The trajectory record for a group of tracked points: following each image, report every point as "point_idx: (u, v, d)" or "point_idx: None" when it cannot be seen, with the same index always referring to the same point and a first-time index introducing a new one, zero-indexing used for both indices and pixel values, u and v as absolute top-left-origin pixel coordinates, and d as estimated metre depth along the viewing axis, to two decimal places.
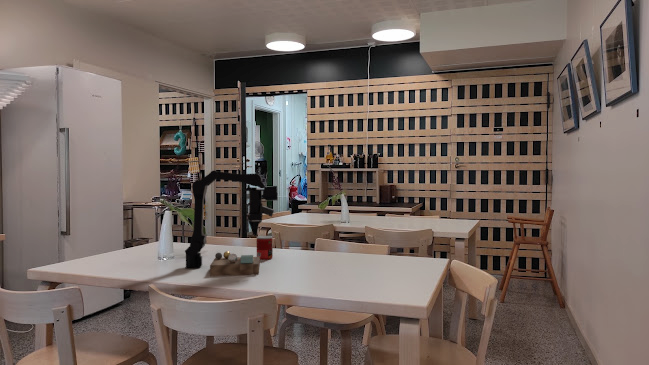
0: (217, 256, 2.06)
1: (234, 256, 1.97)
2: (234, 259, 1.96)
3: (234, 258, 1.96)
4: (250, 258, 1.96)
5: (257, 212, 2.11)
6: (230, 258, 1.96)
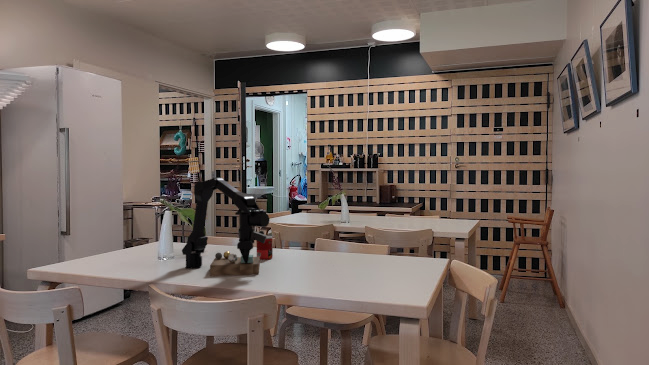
0: (217, 256, 2.06)
1: (234, 256, 1.97)
2: (234, 259, 1.96)
3: (234, 258, 1.96)
4: (250, 258, 1.97)
5: (248, 239, 1.92)
6: (230, 258, 1.96)
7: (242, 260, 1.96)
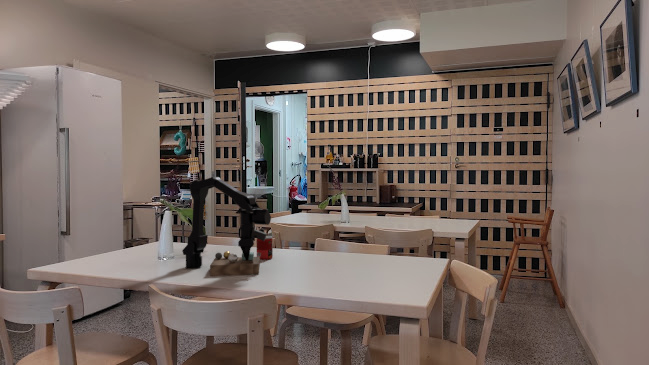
0: (217, 256, 2.06)
1: (234, 256, 1.97)
2: (234, 259, 1.96)
3: (234, 258, 1.96)
4: (251, 255, 2.03)
5: (249, 236, 1.99)
6: (230, 258, 1.96)
7: (243, 257, 2.03)
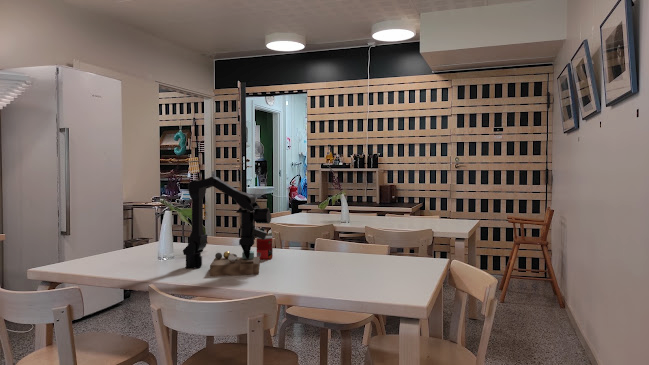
0: (217, 256, 2.06)
1: (234, 256, 1.97)
2: (234, 259, 1.96)
3: (234, 258, 1.96)
4: (251, 254, 2.07)
5: (249, 235, 2.03)
6: (230, 258, 1.96)
7: (243, 256, 2.06)
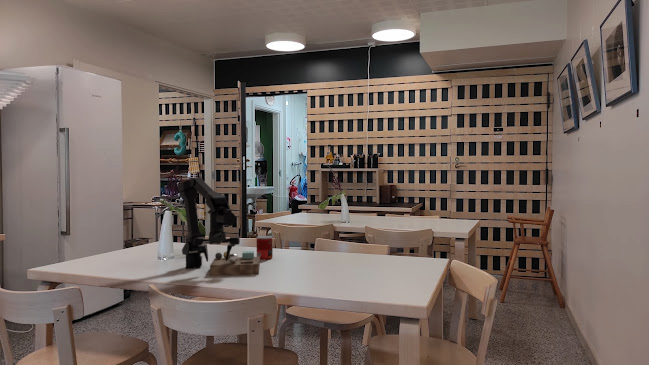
0: (217, 256, 2.06)
1: (235, 256, 1.97)
2: (235, 259, 1.96)
3: (235, 258, 1.96)
4: (251, 254, 2.07)
5: None
6: (231, 258, 1.96)
7: (243, 256, 2.06)
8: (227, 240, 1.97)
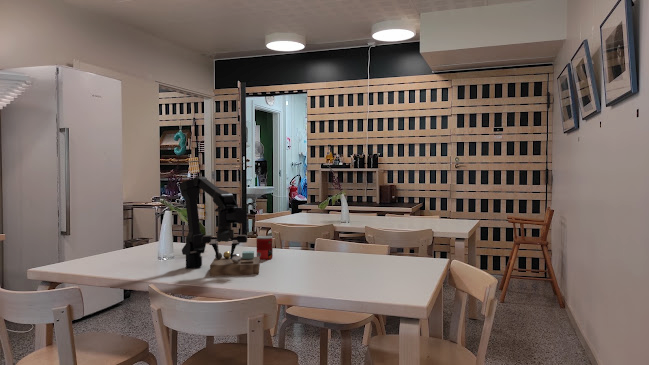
0: None
1: (239, 258, 1.97)
2: (236, 260, 1.96)
3: (237, 260, 1.96)
4: (251, 254, 2.07)
5: None
6: (234, 257, 1.96)
7: (243, 256, 2.06)
8: (231, 238, 1.97)
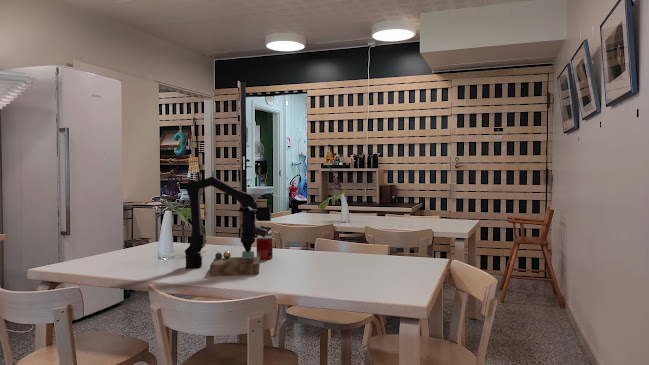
0: (217, 256, 2.06)
1: None
2: None
3: None
4: (251, 254, 2.07)
5: (250, 233, 2.10)
6: None
7: (243, 256, 2.06)
8: None
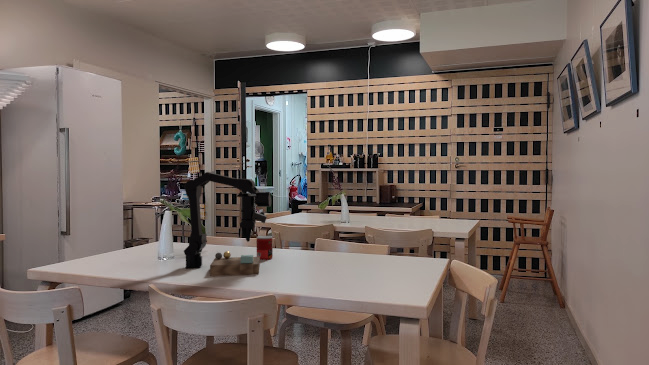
0: (217, 256, 2.06)
1: None
2: None
3: None
4: (250, 258, 1.96)
5: (249, 219, 2.07)
6: None
7: (242, 260, 1.96)
8: None
